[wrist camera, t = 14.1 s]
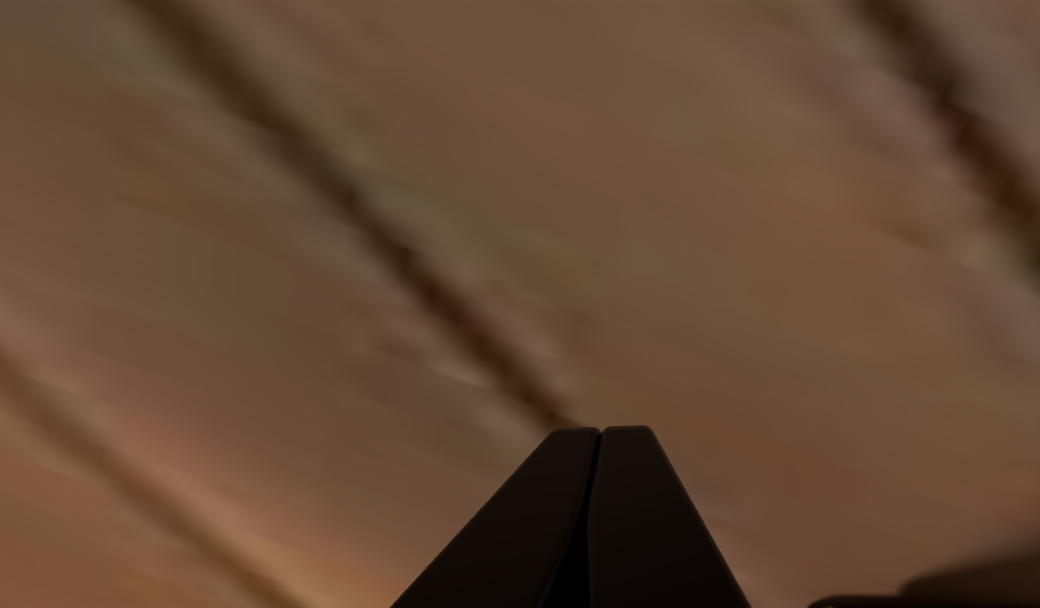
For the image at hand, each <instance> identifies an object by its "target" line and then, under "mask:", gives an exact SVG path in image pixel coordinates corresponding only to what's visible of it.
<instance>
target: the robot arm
mask: <svg viewBox="0 0 1040 608" xmlns="http://www.w3.org/2000/svg"><path fill="white" fill-rule="evenodd" d="M390 608H752V607H751V606H750V604H749V602H748V600H747V598H746V597H745V595H744V593H743V591H742V589H741V588H740V586H739V584H738V582H737V580H736V579H735V577H734V575H733V573H732V572H731V570H730V568H729V566H728V564H727V563H726V561H725V559H724V557H723V555H722V554H721V552H720V550H719V548H718V547H717V545H716V543H715V541H714V539H713V538H712V536H711V534H710V532H709V530H708V529H707V527H706V525H705V523H704V521H703V520H702V518H701V516H700V514H699V513H698V511H697V509H696V507H695V505H694V504H693V502H692V500H691V498H690V496H689V495H688V493H687V491H686V489H685V488H684V486H683V484H682V482H681V480H680V479H679V477H678V475H677V473H676V471H675V470H674V468H673V466H672V464H671V462H670V461H669V459H668V457H667V455H666V454H665V452H664V450H663V448H662V446H661V445H660V443H659V441H658V439H657V437H656V436H655V434H654V432H653V431H652V430H651V428H650V427H648V426H645V425H634V426H610V427H607V428H606V429H604V430H603V432H602V433H601V431H600V430H599V429H598V428H596V427H574V428H558V429H555V430H554V431H552V432H551V433H550V434H549V435H548V436H547V437H546V438H545V439H544V440H543V441H542V442H541V444H540V445H539V446H538V447H537V448H536V449H535V450H534V451H533V452H532V453H531V454H530V456H529V457H528V458H527V459H526V460H525V461H524V462H523V463H522V464H521V465H520V466H519V468H518V469H517V470H516V471H515V472H514V473H513V474H512V475H511V476H510V477H509V478H508V479H507V481H506V482H505V483H504V484H503V485H502V486H501V487H500V488H499V489H498V490H497V491H496V493H495V494H494V495H493V496H492V497H491V498H490V499H489V500H488V501H487V502H486V503H485V504H484V506H483V507H482V508H481V509H480V510H479V511H478V512H477V513H476V514H475V515H474V516H473V518H472V519H471V520H470V521H469V522H468V523H467V524H466V525H465V526H464V527H463V528H462V529H461V531H460V532H459V533H458V534H457V535H456V536H455V537H454V538H453V539H452V540H451V541H450V543H449V544H448V545H447V546H446V547H445V548H444V549H443V550H442V551H441V552H440V553H439V554H438V556H437V557H436V558H435V559H434V560H433V561H432V562H431V563H430V564H429V565H428V566H427V568H426V569H425V570H424V571H423V572H422V573H421V574H420V575H419V576H418V577H417V578H416V579H415V581H414V582H413V583H412V584H411V585H410V586H409V587H408V588H407V589H406V590H405V591H404V593H403V594H402V595H401V596H400V597H399V598H398V599H397V600H396V601H395V602H394V603H393V605H392V606H391V607H390Z"/></svg>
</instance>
